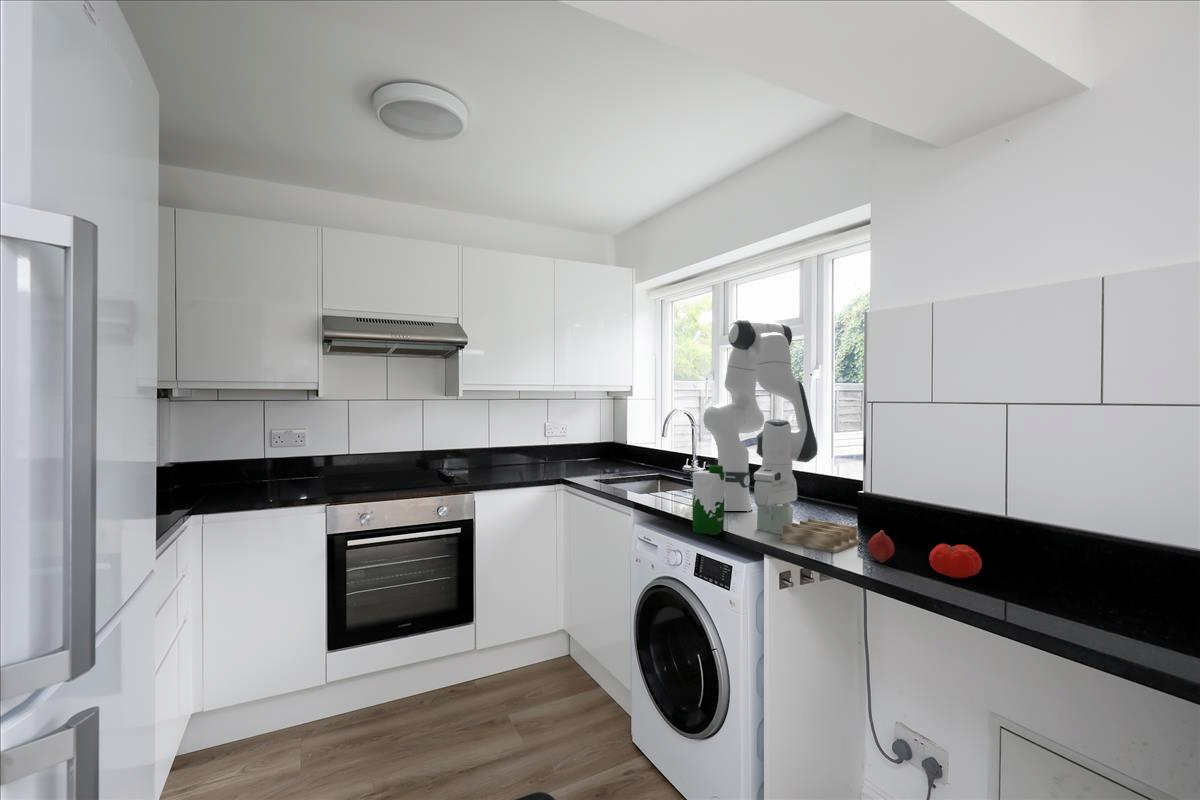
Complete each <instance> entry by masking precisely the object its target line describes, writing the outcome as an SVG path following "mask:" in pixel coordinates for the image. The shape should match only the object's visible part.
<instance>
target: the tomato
mask: <svg viewBox="0 0 1200 800" xmlns="http://www.w3.org/2000/svg"><path fill="white" fill-rule="evenodd" d="M928 559H929V565H930V567H931V568H932V569H933V570H934V571H935V572H936V573H939V574H940V575H944V576H947V577H950V578H953V579H964V578H968V577H973V576H975V575H977V574H979V572H980V571H981V569H982V565H983V562H982V558H981V556H980V554H979V553H978V552H977V551H976V550H975V549H973V548H972V547H971V546H969V545H966V544H956V545H953V546H951V545H949V544H947V543H939V544H938V545H936V546H935V547H934V548H932V550H931V552H930V553H929V557H928Z"/></svg>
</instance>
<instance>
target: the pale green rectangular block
mask: <svg viewBox="0 0 1200 800" xmlns="http://www.w3.org/2000/svg"><path fill="white" fill-rule="evenodd" d="M793 510H794V508H793V507H791V506H790V507H786V506H783V505H781V504H778V505H773V506H772V509H771V513H772V515H773V520H771V521H766V520H765V513H764V510H763V507H761V506H757V511H756V512H757V513H756V514H757V515H756V516H757V517H756V518H757V522H756V523H757V525H756V526H757V527H756V530H757V529H761V530H760V531H762V530H765V531H764V532H767V531H769V532H768V533H772V532H773V533H774V534H777V533H778V534H777V535H782V534H783V526H784V525H785V526H790V527H792V523H794V522H793V517H794V516H793V513H794V512H793Z"/></svg>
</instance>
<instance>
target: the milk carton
mask: <svg viewBox="0 0 1200 800" xmlns="http://www.w3.org/2000/svg"><path fill="white" fill-rule="evenodd" d="M708 467H709V468H708V470H698V471H694V472H692V503H693V505H692V532H693V533H697V534H703V535H704V534H705V535H710V536H711V535H712V536H717V535H719V534H720V533H722V532H723V531H724V526H725V525H724V524H725V523H724V522H725V512H724V495H725V475H726V472H723V466H720V465H718V464H717V465H716V464H715V465H714V464H711V465H708ZM722 530H723V531H722Z"/></svg>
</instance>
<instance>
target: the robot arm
mask: <svg viewBox="0 0 1200 800" xmlns="http://www.w3.org/2000/svg"><path fill="white" fill-rule="evenodd" d="M728 341H729V343H730V345H731V347H732V348H731V350H730V354H729V357H728V362H727V368H726V374H725V379H724V387H725V390H726V391H728V392H729V393H730V396H731V403H719V404H714V405H710V406H708V407H707V408H706V409H705V411H704V412H703V417H702V418H703V425H704V427H705V428H706V429H707V431H708V432H709V433H710V434H711V435H712V437H713V439H714V441H715V444H716V448H717V461H718V462H717V465H720V466H723V472H726V475H725V495H724V511H747V512H750V511H751V510H752V511H753V509H754V508H753V506H752V503H751V502H752V501H751V495H750V482H751V477H750V474H751V473H750V470H749V464H750V463H749V461H750V460H749V459H750V458H749V457H750V452H749V449H748V447H746V446H745V445H744V444H743V443H742V441H741V438H740V434H750V433H753V432H758V431H759V430H761V428H762V427H763V430H762V431H760V432H759V433H758V434H757V435H756V454H757V455H758V456H759V457H761V458H762V461H761V462H762V463H761V466H760V467H759V469H758V470H756V471H754V473H753V480H755V482H754V485H753V486H754V494H753V495H754V502H755V505H756V506H757V507H758V506H761V507H763V510H764V513H765V520H766V521H771V520H773V515H772V513H771V509H772V506H773V505H781V506H786V507H791V502H795V501H797V499H798V486H797V485H798V484H797V479H796V478H795V475H794V473H793V461H795V462H801V463H809V462H811V461H812V460H813V459H814V458H815V457H816V456H817V455H818V449H819V447H818V441H817V437H816V434H815V432H814V428H813V422H812V418H811V414H810V409H809V404H808V399H807V396H806V391H805V387H804V385H803V384H802V382H801V381H800V380H798V379H797V378H796V377H795V376H794V375H795V374H794V373H793V370H792V356H791V349H790V346H791V344H792V341H793V333H792V329H791V328H790V326H789V325H786V324H785V323H782V322H774V321H772V320H765V319H747V318H739V319H735V320H734V321H733V322H732V323H731V325H730V327H729V329H728ZM757 383H758V385H759V386H760V387H761V388H762V389H763V390H764V391H766V392H768V393H770V394H771V395H775V396H778V397H781V398H783V399H785V400H787V401H789V402H790V403H791V405H792V406H793V408H794V414H795V418H796V424H797V429H796V430H792V428H791V427H792V426H791V423H790V421H788V420H786V419H769V420H768V419H767V420H766V421H765V415H764V413H763V410H762V409H761V408H760V407H759V405H758V400H757V396H756V386H757ZM691 503H692V504H693V502H691ZM692 504H691V505H692Z"/></svg>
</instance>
